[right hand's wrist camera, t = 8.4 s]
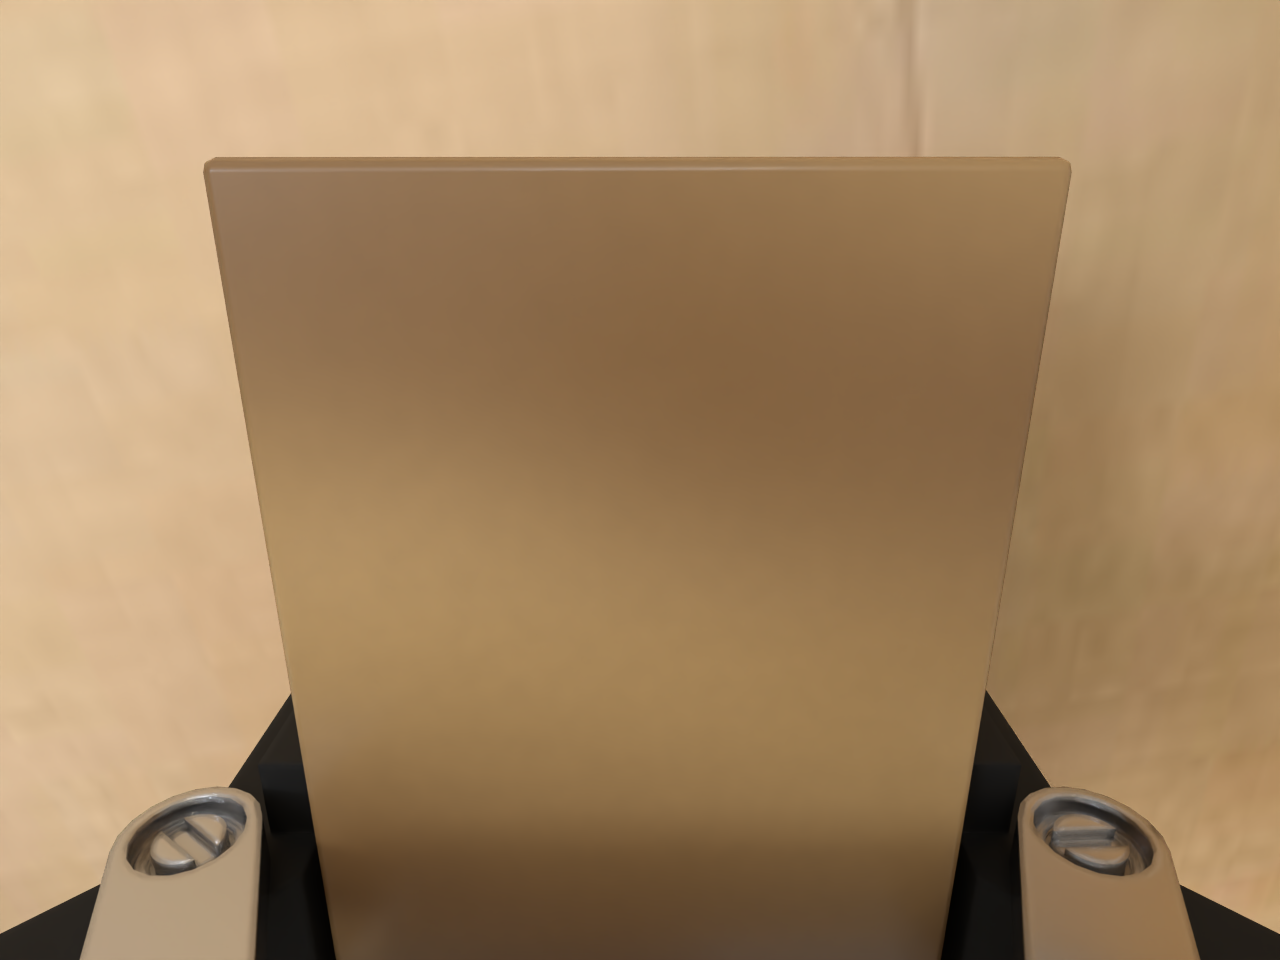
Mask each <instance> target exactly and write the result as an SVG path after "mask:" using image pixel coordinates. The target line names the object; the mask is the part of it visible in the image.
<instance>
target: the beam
mask: <svg viewBox="0 0 1280 960" xmlns="http://www.w3.org/2000/svg"><path fill="white" fill-rule="evenodd" d="M203 173H204V179H205V185H206V191H207V197H208V203H209V209H210V215H211V221H212V227H213V233H214V239H215V244H216V250H217V256H218V262H219V268H220V274H221V280H222V286H223V292H224V298H225V304H226V310H227V316H228V322H229V327H230V333H231V339H232V345H233V351H234V357H235V363H236V369H237V375H238V381H239V387H240V393H241V399H242V405H243V410H244V416H245V422H246V428H247V434H248V440H249V446H250V452H251V458H252V464H253V470H254V476H255V482H256V488H257V493H258V499H259V505H260V511H261V517H262V523H263V529H264V535H265V541H266V547H267V553H268V559H269V565H270V571H271V577H272V582H273V588H274V594H275V600H276V606H277V612H278V618H279V624H280V630H281V636H282V642H283V648H284V654H285V660H286V665H287V671H288V677H289V683H290V689H291V695H292V701H293V707H294V713H295V719H296V725H297V731H298V737H299V743H300V748H301V754H302V760H303V766H304V772H305V778H306V784H307V790H308V796H309V802H310V808H311V814H312V820H313V826H314V832H315V837H316V843H317V849H318V855H319V861H320V867H321V873H322V879H323V885H324V891H325V897H326V903H327V909H328V915H329V920H330V926H331V932H332V938H333V944H334V950H335V956H336V960H941V955H942V949H943V943H944V937H945V931H946V925H947V919H948V913H949V907H950V901H951V895H952V889H953V883H954V877H955V871H956V865H957V859H958V853H959V847H960V841H961V835H962V829H963V823H964V817H965V811H966V805H967V799H968V793H969V787H970V781H971V775H972V769H973V763H974V757H975V751H976V745H977V739H978V733H979V726H980V720H981V714H982V708H983V702H984V696H985V690H986V684H987V678H988V672H989V666H990V660H991V654H992V648H993V642H994V636H995V630H996V624H997V618H998V612H999V606H1000V600H1001V594H1002V588H1003V582H1004V576H1005V570H1006V564H1007V558H1008V552H1009V546H1010V540H1011V534H1012V528H1013V522H1014V516H1015V510H1016V504H1017V498H1018V491H1019V485H1020V479H1021V473H1022V467H1023V461H1024V455H1025V449H1026V443H1027V437H1028V431H1029V425H1030V419H1031V413H1032V407H1033V401H1034V395H1035V389H1036V383H1037V377H1038V371H1039V365H1040V359H1041V353H1042V347H1043V341H1044V335H1045V329H1046V323H1047V317H1048V311H1049V305H1050V299H1051V293H1052V287H1053V281H1054V275H1055V269H1056V263H1057V256H1058V250H1059V244H1060V238H1061V232H1062V226H1063V220H1064V214H1065V208H1066V202H1067V196H1068V190H1069V184H1070V178H1071V166H1070V163H1069V162H1068V161H1066V160H1064V159H1062V158H1060V157H215V158H213V159H211V160H209V161H207V162H206V163H205V165H204V172H203Z"/></svg>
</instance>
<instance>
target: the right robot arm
mask: <svg viewBox="0 0 1280 960" xmlns="http://www.w3.org/2000/svg"><path fill="white" fill-rule="evenodd" d="M0 960H336V956H335V950H334V944H333V938H332V932H331V926H330V920H329V915H328V909H327V903H326V897H325V891H324V885H323V879H322V873H321V867H320V861H319V855H318V849H317V843H316V837H315V832H314V826H313V820H312V814H311V808H310V802H309V796H308V790H307V784H306V778H305V772H304V766H303V760H302V754H301V748H300V743H299V737H298V731H297V725H296V719H295V713H294V707H293V701H292V695H291V694H290V696H289V697H288V699H287V700H286V702H285V703H284V705H283V706H282V708H281V709H280V711H279V712H278V714H277V715H276V717H275V718H274V720H273V721H272V723H271V724H270V726H269V727H268V729H267V730H266V732H265V733H264V735H263V736H262V738H261V739H260V741H259V742H258V744H257V745H256V747H255V748H254V750H253V751H252V753H251V754H250V756H249V757H248V759H247V760H246V762H245V763H244V765H243V766H242V768H241V769H240V771H239V772H238V774H237V775H236V777H235V778H234V780H233V781H232V783H231V784H230V786H229V787H228V788H227V787H211V788H203V789H196V790H192V791H189V792H186V793H183V794H179V795H176V796H173V797H171V798H169V799H167V800H165V801H163V802H161V803H158V804H156V805H154V806H152V807H151V808H149V809H148V810H146V811H145V812H144V813H142V814H141V815H139V816H138V817H137V818H135V819H134V820H132V821H131V822H130V823H129V824H128V826H127V827H126V828H125V829H124V830H123V831H122V832H121V833H120V834H119V835H118V836H117V838H116V840H115V842H114V844H113V846H112V848H111V850H110V852H109V856H108V859H107V863H106V867H105V870H104V874H103V877H102V881H101V884H100V885H98V886H96V887H94V888H92V889H90V890H88V891H86V892H84V893H82V894H80V895H78V896H76V897H74V898H72V899H70V900H68V901H66V902H64V903H62V904H60V905H58V906H56V907H54V908H51V909H49V910H47V911H45V912H43V913H41V914H39V915H37V916H35V917H33V918H31V919H29V920H27V921H25V922H23V923H21V924H19V925H17V926H15V927H13V928H11V929H9V930H7V931H5V932H3V933H1V934H0ZM941 960H1280V934H1278V933H1276V932H1274V931H1272V930H1270V929H1268V928H1266V927H1264V926H1262V925H1260V924H1258V923H1256V922H1254V921H1252V920H1250V919H1248V918H1246V917H1244V916H1242V915H1240V914H1238V913H1236V912H1234V911H1232V910H1230V909H1228V908H1226V907H1224V906H1222V905H1220V904H1218V903H1216V902H1214V901H1212V900H1210V899H1208V898H1206V897H1204V896H1202V895H1200V894H1198V893H1196V892H1194V891H1192V890H1190V889H1188V888H1186V887H1184V886H1182V885H1180V884H1179V881H1178V877H1177V874H1176V870H1175V867H1174V863H1173V859H1172V856H1171V852H1170V850H1169V848H1168V846H1167V844H1166V842H1165V840H1164V838H1163V836H1162V835H1161V834H1160V833H1159V832H1158V831H1157V830H1156V829H1155V828H1154V827H1153V826H1152V824H1151V823H1150V822H1149V821H1148V820H1146V819H1145V818H1143V817H1142V816H1141V815H1139V814H1138V813H1136V812H1135V811H1134V810H1132V809H1131V808H1129V807H1128V806H1126V805H1124V804H1122V803H1119V802H1117V801H1115V800H1113V799H1111V798H1109V797H1107V796H1104V795H1101V794H1097V793H1094V792H1091V791H1088V790H1084V789H1077V788H1069V787H1053V788H1051V787H1050V785H1049V784H1048V782H1047V781H1046V779H1045V778H1044V776H1043V775H1042V773H1041V772H1040V770H1039V769H1038V767H1037V766H1036V764H1035V763H1034V761H1033V760H1032V758H1031V757H1030V755H1029V754H1028V752H1027V751H1026V749H1025V748H1024V746H1023V745H1022V743H1021V742H1020V740H1019V739H1018V737H1017V736H1016V734H1015V733H1014V731H1013V730H1012V728H1011V727H1010V725H1009V724H1008V722H1007V721H1006V719H1005V718H1004V716H1003V715H1002V713H1001V712H1000V710H999V709H998V707H997V706H996V704H995V703H994V701H993V700H992V698H991V697H990V695H989V694H988V692H987V691H986V690H985V696H984V702H983V708H982V714H981V720H980V726H979V733H978V739H977V745H976V751H975V757H974V763H973V769H972V775H971V781H970V787H969V793H968V799H967V805H966V811H965V817H964V823H963V829H962V835H961V841H960V847H959V853H958V859H957V865H956V871H955V877H954V883H953V889H952V895H951V901H950V907H949V913H948V919H947V925H946V931H945V937H944V943H943V949H942V955H941Z"/></svg>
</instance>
